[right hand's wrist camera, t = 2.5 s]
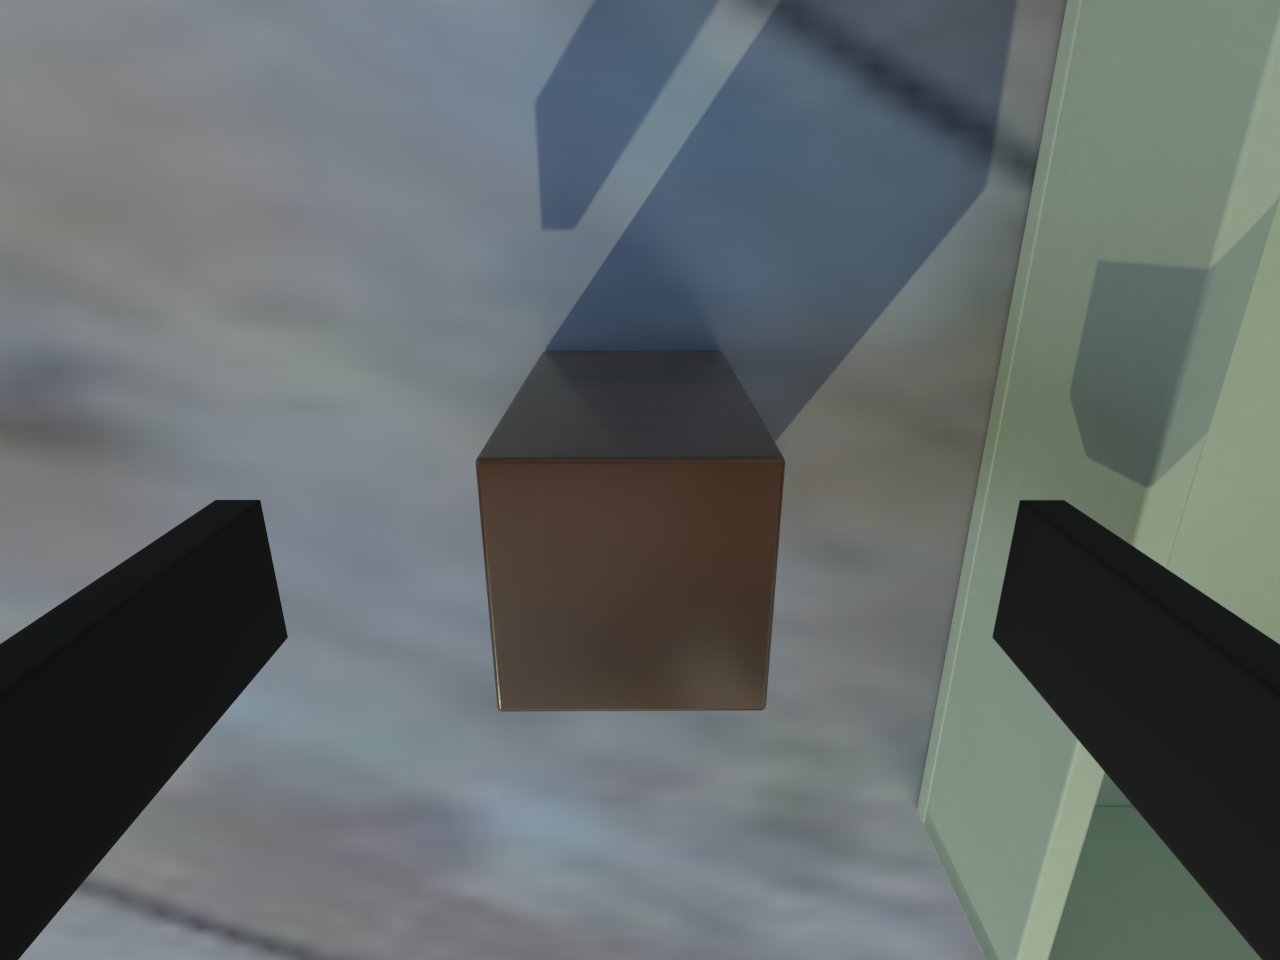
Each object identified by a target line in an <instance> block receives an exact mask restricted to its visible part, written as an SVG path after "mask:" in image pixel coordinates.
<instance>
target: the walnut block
mask: <svg viewBox="0 0 1280 960" xmlns="http://www.w3.org/2000/svg"><path fill="white" fill-rule="evenodd" d="M784 470H785V460H784V457H783V456H782V454H781V452H780V451H779V449H778V447H777V445H776V444H775V442H774V440H773V439H772V437H771V435H770V434H769V432H768V430H767V428H766V427H765V425H764V423H763V422H762V420H761V418H760V416H759V415H758V413H757V411H756V410H755V408H754V406H753V404H752V403H751V401H750V399H749V398H748V396H747V394H746V392H745V391H744V389H743V387H742V386H741V384H740V382H739V380H738V379H737V377H736V375H735V374H734V372H733V370H732V369H731V367H730V365H729V363H728V362H727V360H726V358H725V357H724V355H723V353H722V352H543V353H542V354H541V356H540V358H539V359H538V361H537V363H536V364H535V366H534V367H533V369H532V371H531V372H530V374H529V375H528V377H527V379H526V380H525V382H524V383H523V385H522V387H521V388H520V390H519V392H518V393H517V395H516V396H515V398H514V400H513V401H512V403H511V404H510V406H509V408H508V409H507V411H506V413H505V414H504V416H503V417H502V419H501V421H500V422H499V424H498V425H497V427H496V429H495V430H494V432H493V434H492V435H491V437H490V438H489V440H488V442H487V443H486V445H485V446H484V448H483V450H482V451H481V453H480V454H479V456H478V458H477V460H476V472H477V483H478V495H479V506H480V517H481V528H482V539H483V551H484V562H485V573H486V584H487V595H488V607H489V618H490V629H491V640H492V651H493V663H494V674H495V685H496V696H497V707H498V709H499V710H500V711H682V710H763V709H765V706H766V698H767V685H768V673H769V660H770V647H771V635H772V622H773V609H774V596H775V584H776V571H777V558H778V546H779V533H780V520H781V508H782V495H783V482H784Z"/></svg>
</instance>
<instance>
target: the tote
mask: <svg viewBox="0 0 1280 960" xmlns="http://www.w3.org/2000/svg"><path fill="white" fill-rule="evenodd" d="M1020 500H1065V501H1066V502H1068V503H1069V504H1071V505H1072V506H1074V507H1075V508H1077V509H1078V510H1080V511H1081V512H1083V513H1084V514H1086V515H1087V516H1089V517H1090V518H1092V519H1093V520H1095V521H1096V522H1098V523H1099V524H1101V525H1102V526H1104V527H1105V528H1107V529H1108V530H1110V531H1111V532H1113V533H1114V534H1116V535H1117V536H1119V537H1120V538H1122V539H1123V540H1125V541H1126V542H1128V543H1129V544H1131V545H1132V546H1134V547H1135V548H1137V549H1138V550H1140V551H1141V552H1143V553H1144V554H1146V555H1147V556H1149V557H1150V558H1151V559H1153V560H1154V561H1156V562H1157V563H1159V564H1160V565H1162V566H1163V567H1165V568H1166V569H1168V570H1169V571H1171V572H1172V573H1174V574H1175V575H1177V576H1178V577H1180V578H1181V579H1183V580H1184V581H1186V582H1187V583H1189V584H1190V585H1192V586H1193V587H1195V588H1196V589H1198V590H1199V591H1201V592H1202V593H1204V594H1205V595H1207V596H1208V597H1210V598H1211V599H1213V600H1214V601H1216V602H1217V603H1219V604H1220V605H1222V606H1223V607H1225V608H1226V609H1228V610H1229V611H1231V612H1232V613H1234V614H1235V615H1237V616H1238V617H1240V618H1241V619H1243V620H1244V621H1246V622H1247V623H1249V624H1250V625H1252V626H1253V627H1255V628H1256V629H1258V630H1259V631H1261V632H1262V633H1264V634H1265V635H1267V636H1268V637H1270V638H1271V639H1273V640H1274V641H1276V642H1277V643H1279V644H1280V0H1067V4H1066V9H1065V15H1064V20H1063V26H1062V31H1061V36H1060V42H1059V47H1058V52H1057V58H1056V63H1055V69H1054V74H1053V79H1052V85H1051V90H1050V96H1049V101H1048V106H1047V112H1046V117H1045V123H1044V128H1043V133H1042V139H1041V144H1040V150H1039V155H1038V160H1037V166H1036V171H1035V176H1034V182H1033V187H1032V193H1031V198H1030V203H1029V209H1028V214H1027V220H1026V225H1025V230H1024V236H1023V241H1022V247H1021V252H1020V257H1019V263H1018V268H1017V274H1016V279H1015V284H1014V290H1013V295H1012V300H1011V306H1010V311H1009V317H1008V322H1007V327H1006V333H1005V338H1004V344H1003V349H1002V354H1001V360H1000V365H999V371H998V376H997V381H996V387H995V392H994V398H993V403H992V408H991V414H990V419H989V424H988V430H987V435H986V441H985V446H984V451H983V457H982V462H981V468H980V473H979V478H978V484H977V489H976V495H975V500H974V505H973V511H972V516H971V522H970V527H969V532H968V538H967V543H966V548H965V554H964V559H963V565H962V570H961V575H960V581H959V586H958V592H957V597H956V602H955V608H954V613H953V619H952V624H951V629H950V635H949V640H948V646H947V651H946V656H945V662H944V667H943V672H942V678H941V683H940V689H939V694H938V699H937V705H936V710H935V716H934V721H933V726H932V732H931V737H930V743H929V748H928V753H927V759H926V764H925V770H924V775H923V780H922V786H921V791H920V796H919V802H918V807H917V812H918V814H919V816H920V818H921V820H922V823H923V824H924V827H925V829H926V831H927V834H928V836H929V838H930V840H931V842H932V844H933V847H934V849H935V851H936V853H937V855H938V857H939V859H940V862H941V864H942V866H943V868H944V870H945V872H946V875H947V877H948V879H949V881H950V883H951V885H952V888H953V890H954V892H955V894H956V896H957V898H958V900H959V903H960V905H961V907H962V909H963V911H964V913H965V916H966V918H967V920H968V922H969V924H970V926H971V928H972V931H973V933H974V935H975V937H976V939H977V941H978V944H979V946H980V948H981V950H982V952H983V954H984V956H985V959H986V960H1262V959H1261V958H1260V957H1259V956H1258V954H1257V953H1256V952H1255V951H1254V950H1253V948H1252V947H1251V946H1250V945H1249V944H1248V942H1247V941H1246V940H1245V939H1244V938H1243V936H1242V935H1241V934H1240V933H1239V932H1238V930H1237V929H1236V928H1235V927H1234V926H1233V924H1232V923H1231V922H1230V921H1229V920H1228V918H1227V917H1226V916H1225V915H1224V914H1223V912H1222V911H1221V910H1220V909H1219V908H1218V907H1217V905H1216V904H1215V903H1214V902H1213V901H1212V899H1211V898H1210V897H1209V896H1208V895H1207V893H1206V892H1205V891H1204V890H1203V889H1202V887H1201V886H1200V885H1199V884H1198V883H1197V881H1196V880H1195V879H1194V878H1193V877H1192V875H1191V874H1190V873H1189V872H1188V871H1187V869H1186V868H1185V867H1184V866H1183V865H1182V863H1181V862H1180V861H1179V860H1178V859H1177V858H1176V856H1175V855H1174V854H1173V853H1172V852H1171V850H1170V849H1169V848H1168V847H1167V846H1166V844H1165V843H1164V842H1163V841H1162V840H1161V838H1160V837H1159V836H1158V835H1157V834H1156V832H1155V831H1154V830H1153V829H1152V828H1151V826H1150V825H1149V824H1148V823H1147V822H1146V820H1145V819H1144V818H1143V817H1142V816H1141V815H1140V813H1139V812H1138V811H1137V810H1136V809H1135V807H1134V806H1133V805H1132V804H1131V803H1130V801H1129V800H1128V799H1127V798H1126V797H1125V795H1124V794H1123V793H1122V792H1121V791H1120V789H1119V788H1118V787H1117V786H1116V785H1115V783H1114V782H1113V781H1112V780H1111V779H1110V777H1109V776H1108V775H1107V774H1106V773H1105V771H1104V770H1103V769H1102V768H1101V767H1100V766H1099V764H1098V763H1097V762H1096V761H1095V760H1094V758H1093V757H1092V756H1091V755H1090V754H1089V752H1088V751H1087V750H1086V749H1085V748H1084V746H1083V745H1082V744H1081V743H1080V742H1079V740H1078V739H1077V738H1076V737H1075V736H1074V734H1073V733H1072V732H1071V731H1070V730H1069V728H1068V727H1067V726H1066V725H1065V724H1064V722H1063V721H1062V720H1061V719H1060V718H1059V717H1058V715H1057V714H1056V713H1055V712H1054V711H1053V709H1052V708H1051V707H1050V706H1049V705H1048V703H1047V702H1046V701H1045V700H1044V699H1043V697H1042V696H1041V695H1040V694H1039V693H1038V691H1037V690H1036V689H1035V688H1034V687H1033V685H1032V684H1031V683H1030V682H1029V681H1028V679H1027V678H1026V677H1025V676H1024V675H1023V673H1022V672H1021V671H1020V670H1019V669H1018V668H1017V666H1016V665H1015V664H1014V663H1013V662H1012V660H1011V659H1010V658H1009V657H1008V656H1007V654H1006V653H1005V652H1004V651H1003V650H1002V648H1001V647H1000V646H999V645H998V644H997V642H996V641H995V640H994V639H993V638H992V636H993V631H994V626H995V621H996V616H997V611H998V606H999V601H1000V596H1001V591H1002V587H1003V582H1004V577H1005V572H1006V567H1007V562H1008V557H1009V552H1010V547H1011V542H1012V537H1013V532H1014V527H1015V522H1016V517H1017V512H1018V507H1019V502H1020Z"/></svg>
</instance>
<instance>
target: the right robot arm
mask: <svg viewBox="0 0 1280 960" xmlns="http://www.w3.org/2000/svg"><path fill="white" fill-rule="evenodd" d="M287 638H288V636H287V631H286V626H285V621H284V616H283V611H282V606H281V601H280V596H279V591H278V587H277V582H276V577H275V572H274V567H273V562H272V557H271V552H270V547H269V542H268V537H267V532H266V527H265V522H264V517H263V512H262V507H261V502H260V500H215V501H214V502H212V503H211V504H209V505H208V506H206V507H205V508H203V509H202V510H200V511H199V512H197V513H196V514H194V515H193V516H191V517H190V518H188V519H187V520H185V521H184V522H182V523H181V524H179V525H178V526H176V527H175V528H173V529H172V530H170V531H169V532H167V533H166V534H164V535H163V536H161V537H160V538H158V539H157V540H155V541H154V542H152V543H151V544H149V545H148V546H146V547H145V548H143V549H142V550H140V551H139V552H137V553H136V554H134V555H133V556H131V557H130V558H129V559H127V560H126V561H124V562H123V563H121V564H120V565H118V566H117V567H115V568H114V569H112V570H111V571H109V572H108V573H106V574H105V575H103V576H102V577H100V578H99V579H97V580H96V581H94V582H93V583H91V584H90V585H88V586H87V587H85V588H84V589H82V590H81V591H79V592H78V593H76V594H75V595H73V596H72V597H70V598H69V599H67V600H66V601H64V602H63V603H61V604H60V605H58V606H57V607H55V608H54V609H52V610H51V611H49V612H48V613H46V614H45V615H43V616H42V617H40V618H39V619H37V620H36V621H34V622H33V623H31V624H30V625H28V626H27V627H25V628H24V629H22V630H21V631H19V632H18V633H16V634H15V635H13V636H12V637H10V638H9V639H7V640H6V641H4V642H3V643H1V644H0V960H18V959H19V958H20V957H21V956H22V954H23V953H24V952H25V951H26V950H27V948H28V947H29V946H30V945H31V944H32V942H33V941H34V940H35V939H36V938H37V936H38V935H39V934H40V933H41V932H42V930H43V929H44V928H45V927H46V926H47V924H48V923H49V922H50V921H51V920H52V918H53V917H54V916H55V915H56V914H57V912H58V911H59V910H60V909H61V908H62V907H63V905H64V904H65V903H66V902H67V901H68V899H69V898H70V897H71V896H72V895H73V893H74V892H75V891H76V890H77V889H78V887H79V886H80V885H81V884H82V883H83V881H84V880H85V879H86V878H87V877H88V875H89V874H90V873H91V872H92V871H93V869H94V868H95V867H96V866H97V865H98V863H99V862H100V861H101V860H102V859H103V858H104V856H105V855H106V854H107V853H108V852H109V850H110V849H111V848H112V847H113V846H114V844H115V843H116V842H117V841H118V840H119V838H120V837H121V836H122V835H123V834H124V832H125V831H126V830H127V829H128V828H129V826H130V825H131V824H132V823H133V822H134V820H135V819H136V818H137V817H138V816H139V815H140V813H141V812H142V811H143V810H144V809H145V807H146V806H147V805H148V804H149V803H150V801H151V800H152V799H153V798H154V797H155V795H156V794H157V793H158V792H159V791H160V789H161V788H162V787H163V786H164V785H165V783H166V782H167V781H168V780H169V779H170V777H171V776H172V775H173V774H174V773H175V771H176V770H177V769H178V768H179V767H180V766H181V764H182V763H183V762H184V761H185V760H186V758H187V757H188V756H189V755H190V754H191V752H192V751H193V750H194V749H195V748H196V746H197V745H198V744H199V743H200V742H201V740H202V739H203V738H204V737H205V736H206V734H207V733H208V732H209V731H210V730H211V728H212V727H213V726H214V725H215V724H216V722H217V721H218V720H219V719H220V718H221V717H222V715H223V714H224V713H225V712H226V711H227V709H228V708H229V707H230V706H231V705H232V703H233V702H234V701H235V700H236V699H237V697H238V696H239V695H240V694H241V693H242V691H243V690H244V689H245V688H246V687H247V685H248V684H249V683H250V682H251V681H252V679H253V678H254V677H255V676H256V675H257V673H258V672H259V671H260V670H261V669H262V668H263V666H264V665H265V664H266V663H267V662H268V660H269V659H270V658H271V657H272V656H273V654H274V653H275V652H276V651H277V650H278V648H279V647H280V646H281V645H282V644H283V642H284V641H285V640H286V639H287ZM992 638H993V639H994V640H995V641H996V642H997V644H998V645H999V646H1000V647H1001V648H1002V650H1003V651H1004V652H1005V653H1006V654H1007V656H1008V657H1009V658H1010V659H1011V660H1012V662H1013V663H1014V664H1015V665H1016V666H1017V668H1018V669H1019V670H1020V671H1021V672H1022V673H1023V675H1024V676H1025V677H1026V678H1027V679H1028V681H1029V682H1030V683H1031V684H1032V685H1033V687H1034V688H1035V689H1036V690H1037V691H1038V693H1039V694H1040V695H1041V696H1042V697H1043V699H1044V700H1045V701H1046V702H1047V703H1048V705H1049V706H1050V707H1051V708H1052V709H1053V711H1054V712H1055V713H1056V714H1057V715H1058V717H1059V718H1060V719H1061V720H1062V721H1063V722H1064V724H1065V725H1066V726H1067V727H1068V728H1069V730H1070V731H1071V732H1072V733H1073V734H1074V736H1075V737H1076V738H1077V739H1078V740H1079V742H1080V743H1081V744H1082V745H1083V746H1084V748H1085V749H1086V750H1087V751H1088V752H1089V754H1090V755H1091V756H1092V757H1093V758H1094V760H1095V761H1096V762H1097V763H1098V764H1099V766H1100V767H1101V768H1102V769H1103V770H1104V771H1105V773H1106V774H1107V775H1108V776H1109V777H1110V779H1111V780H1112V781H1113V782H1114V783H1115V785H1116V786H1117V787H1118V788H1119V789H1120V791H1121V792H1122V793H1123V794H1124V795H1125V797H1126V798H1127V799H1128V800H1129V801H1130V803H1131V804H1132V805H1133V806H1134V807H1135V809H1136V810H1137V811H1138V812H1139V813H1140V815H1141V816H1142V817H1143V818H1144V819H1145V820H1146V822H1147V823H1148V824H1149V825H1150V826H1151V828H1152V829H1153V830H1154V831H1155V832H1156V834H1157V835H1158V836H1159V837H1160V838H1161V840H1162V841H1163V842H1164V843H1165V844H1166V846H1167V847H1168V848H1169V849H1170V850H1171V852H1172V853H1173V854H1174V855H1175V856H1176V858H1177V859H1178V860H1179V861H1180V862H1181V863H1182V865H1183V866H1184V867H1185V868H1186V869H1187V871H1188V872H1189V873H1190V874H1191V875H1192V877H1193V878H1194V879H1195V880H1196V881H1197V883H1198V884H1199V885H1200V886H1201V887H1202V889H1203V890H1204V891H1205V892H1206V893H1207V895H1208V896H1209V897H1210V898H1211V899H1212V901H1213V902H1214V903H1215V904H1216V905H1217V907H1218V908H1219V909H1220V910H1221V911H1222V912H1223V914H1224V915H1225V916H1226V917H1227V918H1228V920H1229V921H1230V922H1231V923H1232V924H1233V926H1234V927H1235V928H1236V929H1237V930H1238V932H1239V933H1240V934H1241V935H1242V936H1243V938H1244V939H1245V940H1246V941H1247V942H1248V944H1249V945H1250V946H1251V947H1252V948H1253V950H1254V951H1255V952H1256V953H1257V954H1258V956H1259V957H1260V958H1261V959H1262V960H1280V644H1279V643H1277V642H1276V641H1274V640H1273V639H1271V638H1270V637H1268V636H1267V635H1265V634H1264V633H1262V632H1261V631H1259V630H1258V629H1256V628H1255V627H1253V626H1252V625H1250V624H1249V623H1247V622H1246V621H1244V620H1243V619H1241V618H1240V617H1238V616H1237V615H1235V614H1234V613H1232V612H1231V611H1229V610H1228V609H1226V608H1225V607H1223V606H1222V605H1220V604H1219V603H1217V602H1216V601H1214V600H1213V599H1211V598H1210V597H1208V596H1207V595H1205V594H1204V593H1202V592H1201V591H1199V590H1198V589H1196V588H1195V587H1193V586H1192V585H1190V584H1189V583H1187V582H1186V581H1184V580H1183V579H1181V578H1180V577H1178V576H1177V575H1175V574H1174V573H1172V572H1171V571H1169V570H1168V569H1166V568H1165V567H1163V566H1162V565H1160V564H1159V563H1157V562H1156V561H1154V560H1153V559H1151V558H1150V557H1149V556H1147V555H1146V554H1144V553H1143V552H1141V551H1140V550H1138V549H1137V548H1135V547H1134V546H1132V545H1131V544H1129V543H1128V542H1126V541H1125V540H1123V539H1122V538H1120V537H1119V536H1117V535H1116V534H1114V533H1113V532H1111V531H1110V530H1108V529H1107V528H1105V527H1104V526H1102V525H1101V524H1099V523H1098V522H1096V521H1095V520H1093V519H1092V518H1090V517H1089V516H1087V515H1086V514H1084V513H1083V512H1081V511H1080V510H1078V509H1077V508H1075V507H1074V506H1072V505H1071V504H1069V503H1068V502H1066V501H1065V500H1020V502H1019V507H1018V512H1017V517H1016V522H1015V527H1014V532H1013V537H1012V542H1011V547H1010V552H1009V557H1008V562H1007V567H1006V572H1005V577H1004V582H1003V587H1002V591H1001V596H1000V601H999V606H998V611H997V616H996V621H995V626H994V631H993V636H992Z"/></svg>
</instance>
